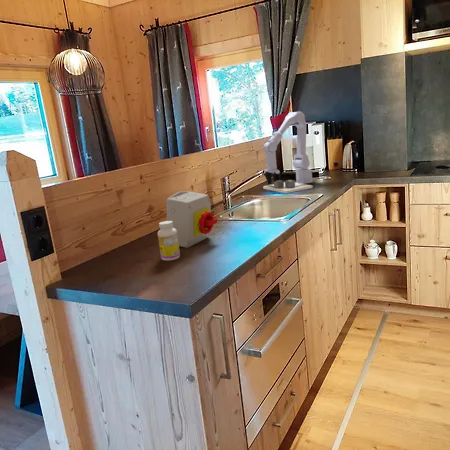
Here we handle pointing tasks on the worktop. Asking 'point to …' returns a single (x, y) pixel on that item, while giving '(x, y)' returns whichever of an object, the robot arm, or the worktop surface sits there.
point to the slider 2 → (289, 183)
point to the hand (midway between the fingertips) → (272, 184)
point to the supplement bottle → (168, 241)
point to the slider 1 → (278, 184)
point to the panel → (287, 190)
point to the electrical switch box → (190, 217)
